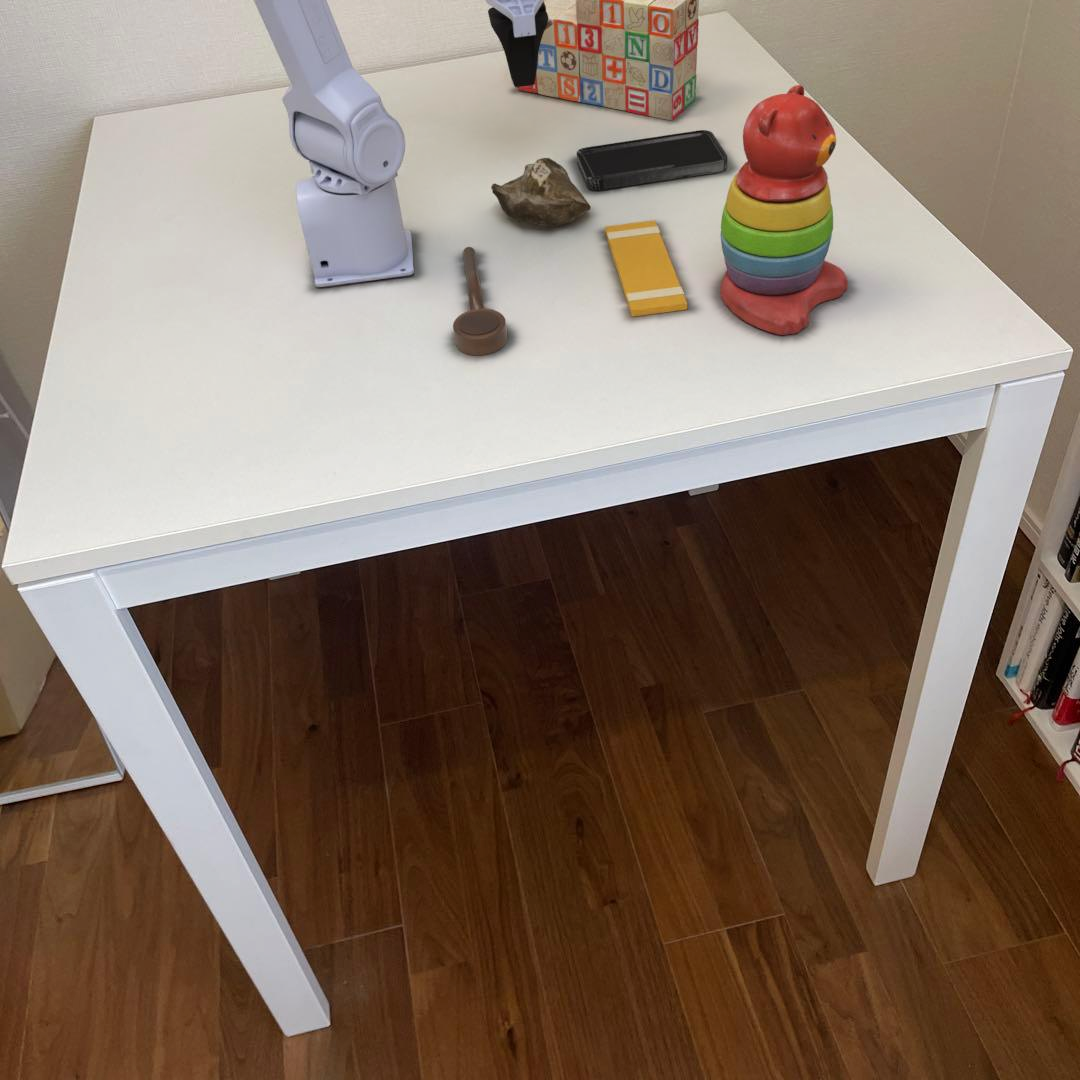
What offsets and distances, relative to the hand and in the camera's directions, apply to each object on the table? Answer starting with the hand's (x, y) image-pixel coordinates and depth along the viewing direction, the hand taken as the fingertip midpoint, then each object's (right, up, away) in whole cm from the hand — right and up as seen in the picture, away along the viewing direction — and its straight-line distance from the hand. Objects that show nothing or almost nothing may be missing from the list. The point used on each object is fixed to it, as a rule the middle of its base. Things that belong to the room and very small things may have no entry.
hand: (523, 83), depth 112 cm
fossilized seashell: (+2, -14, -1) cm, 14 cm away
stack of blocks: (+9, +6, +19) cm, 22 cm away
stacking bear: (+23, -25, -14) cm, 36 cm away
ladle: (-4, -25, -11) cm, 27 cm away
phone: (+13, -7, +5) cm, 16 cm away
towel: (+11, -21, -9) cm, 26 cm away
